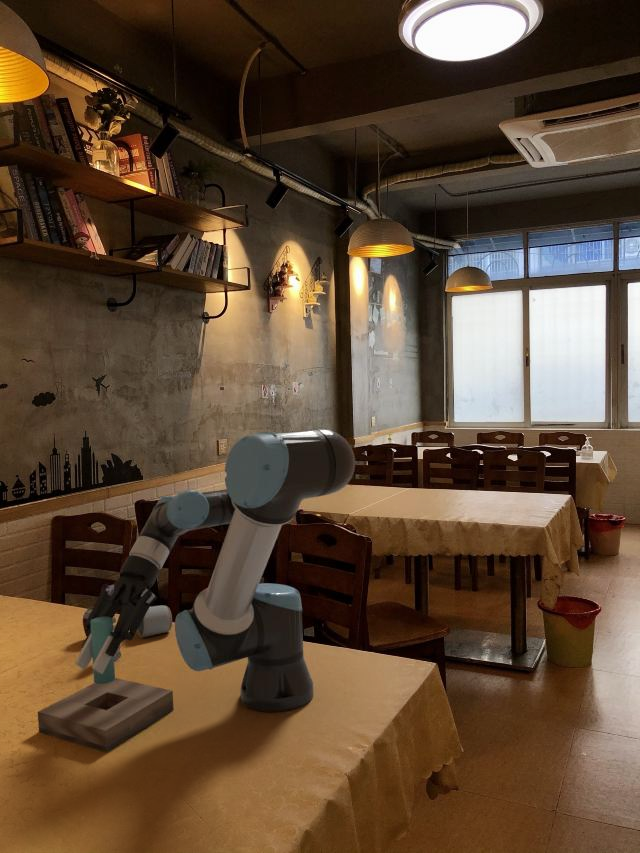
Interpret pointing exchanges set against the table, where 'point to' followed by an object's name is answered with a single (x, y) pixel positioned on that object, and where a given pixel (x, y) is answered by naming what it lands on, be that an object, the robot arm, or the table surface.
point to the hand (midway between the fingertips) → (88, 668)
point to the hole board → (105, 713)
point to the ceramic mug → (155, 621)
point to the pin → (99, 634)
